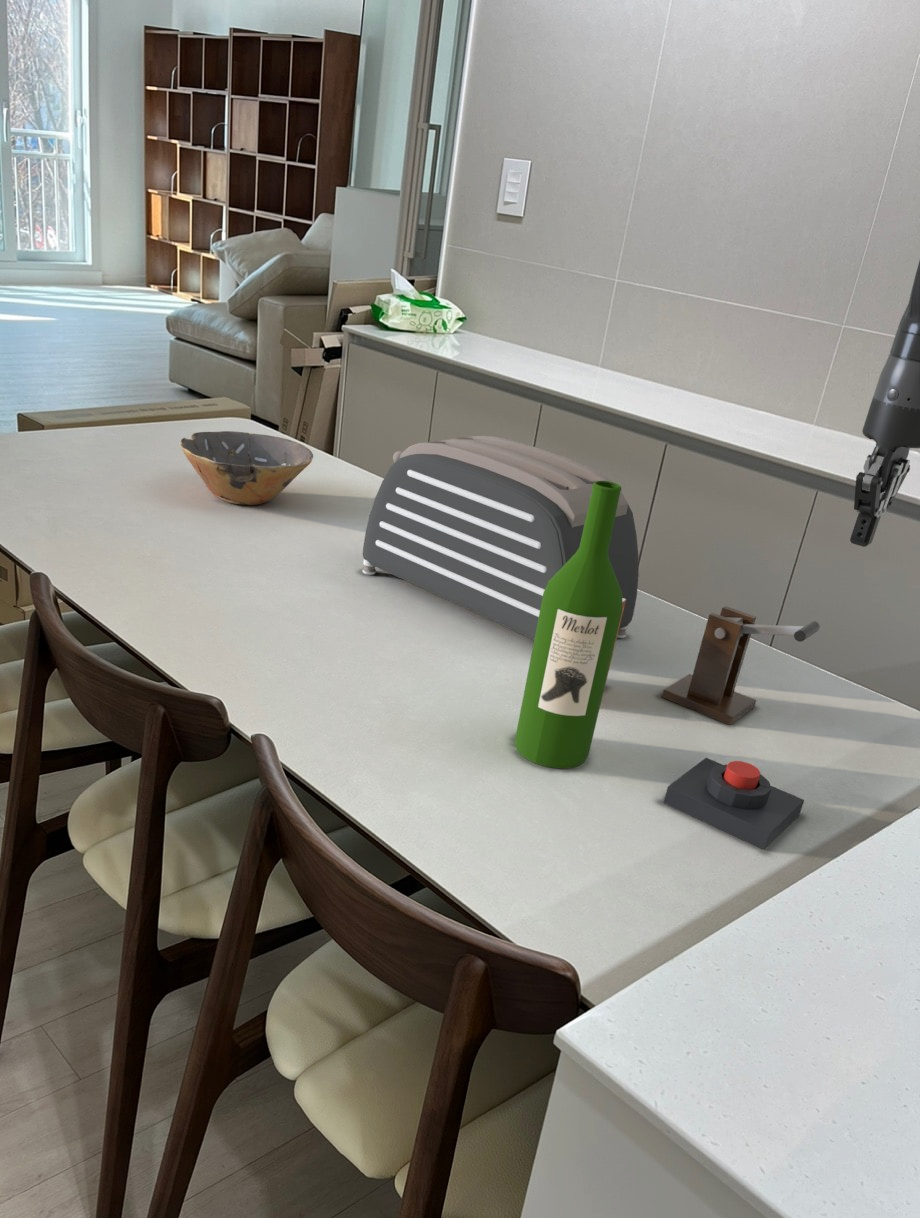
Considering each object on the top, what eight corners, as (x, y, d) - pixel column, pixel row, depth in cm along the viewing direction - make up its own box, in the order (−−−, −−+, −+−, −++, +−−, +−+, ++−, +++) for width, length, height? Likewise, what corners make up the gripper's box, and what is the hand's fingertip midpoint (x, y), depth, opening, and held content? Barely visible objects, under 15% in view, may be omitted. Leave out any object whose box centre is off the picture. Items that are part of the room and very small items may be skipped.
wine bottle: (516, 764, 123) (570, 491, 108) (511, 727, 131) (561, 468, 116) (592, 773, 123) (657, 501, 108) (583, 736, 131) (642, 478, 116)
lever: (820, 635, 134) (819, 617, 133) (805, 645, 130) (805, 626, 129) (727, 632, 142) (726, 614, 141) (711, 641, 138) (710, 623, 137)
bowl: (306, 526, 191) (310, 471, 186) (168, 512, 190) (169, 457, 185) (312, 486, 213) (316, 437, 209) (188, 474, 212) (190, 424, 207)
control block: (798, 816, 120) (809, 786, 118) (764, 850, 113) (775, 819, 111) (701, 773, 126) (710, 744, 124) (663, 802, 119) (671, 772, 117)
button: (761, 783, 118) (765, 770, 117) (748, 794, 115) (752, 781, 115) (731, 770, 120) (735, 757, 119) (717, 781, 117) (722, 767, 117)
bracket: (754, 707, 144) (781, 621, 138) (730, 725, 138) (757, 635, 132) (687, 681, 149) (710, 596, 143) (661, 697, 144) (684, 609, 138)
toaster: (421, 546, 188) (440, 410, 177) (632, 636, 161) (669, 483, 150) (342, 564, 175) (356, 419, 164) (556, 665, 149) (591, 500, 138)
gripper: (925, 412, 115) (873, 563, 123) (957, 402, 124) (907, 543, 132) (856, 397, 119) (810, 544, 127) (892, 388, 128) (847, 526, 136)
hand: (860, 543), depth 130 cm, fingers closed
